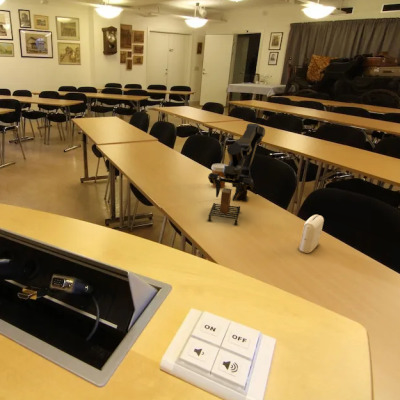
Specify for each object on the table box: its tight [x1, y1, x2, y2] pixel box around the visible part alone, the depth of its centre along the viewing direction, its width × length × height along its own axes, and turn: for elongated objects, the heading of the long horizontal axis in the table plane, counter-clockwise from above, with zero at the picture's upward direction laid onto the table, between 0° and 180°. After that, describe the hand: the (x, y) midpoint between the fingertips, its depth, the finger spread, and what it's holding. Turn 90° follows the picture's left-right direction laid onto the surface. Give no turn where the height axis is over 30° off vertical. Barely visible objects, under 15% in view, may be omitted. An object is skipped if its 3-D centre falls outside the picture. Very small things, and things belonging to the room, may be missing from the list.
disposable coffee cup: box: [210, 163, 229, 189], centre depth 176 cm, size 10×10×12 cm
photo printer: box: [298, 214, 325, 254], centre depth 115 cm, size 10×4×12 cm, turn 133°
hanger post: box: [219, 187, 233, 215], centre depth 138 cm, size 3×3×11 cm
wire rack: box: [207, 202, 241, 226], centre depth 142 cm, size 14×12×3 cm
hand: (224, 198), depth 136 cm, fingers open, 7 cm apart
